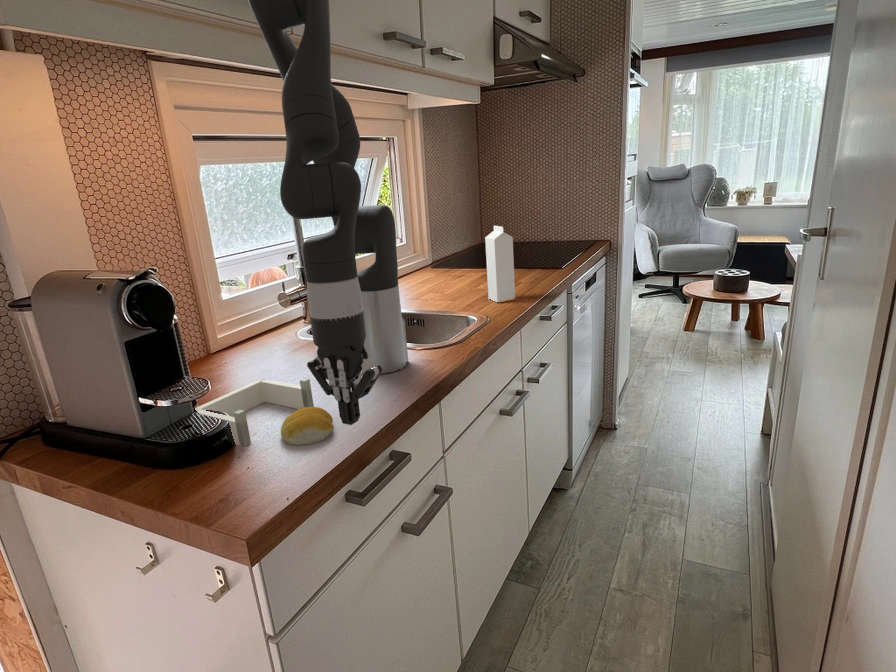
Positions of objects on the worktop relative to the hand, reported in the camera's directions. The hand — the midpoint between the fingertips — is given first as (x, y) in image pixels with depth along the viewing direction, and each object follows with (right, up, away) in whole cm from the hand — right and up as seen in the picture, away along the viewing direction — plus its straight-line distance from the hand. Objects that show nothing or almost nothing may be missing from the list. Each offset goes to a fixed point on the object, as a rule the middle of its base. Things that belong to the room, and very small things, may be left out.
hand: (350, 422), depth 85 cm
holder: (-18, -2, +12) cm, 22 cm away
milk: (+31, +23, +84) cm, 92 cm away
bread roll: (-8, -3, +6) cm, 11 cm away
